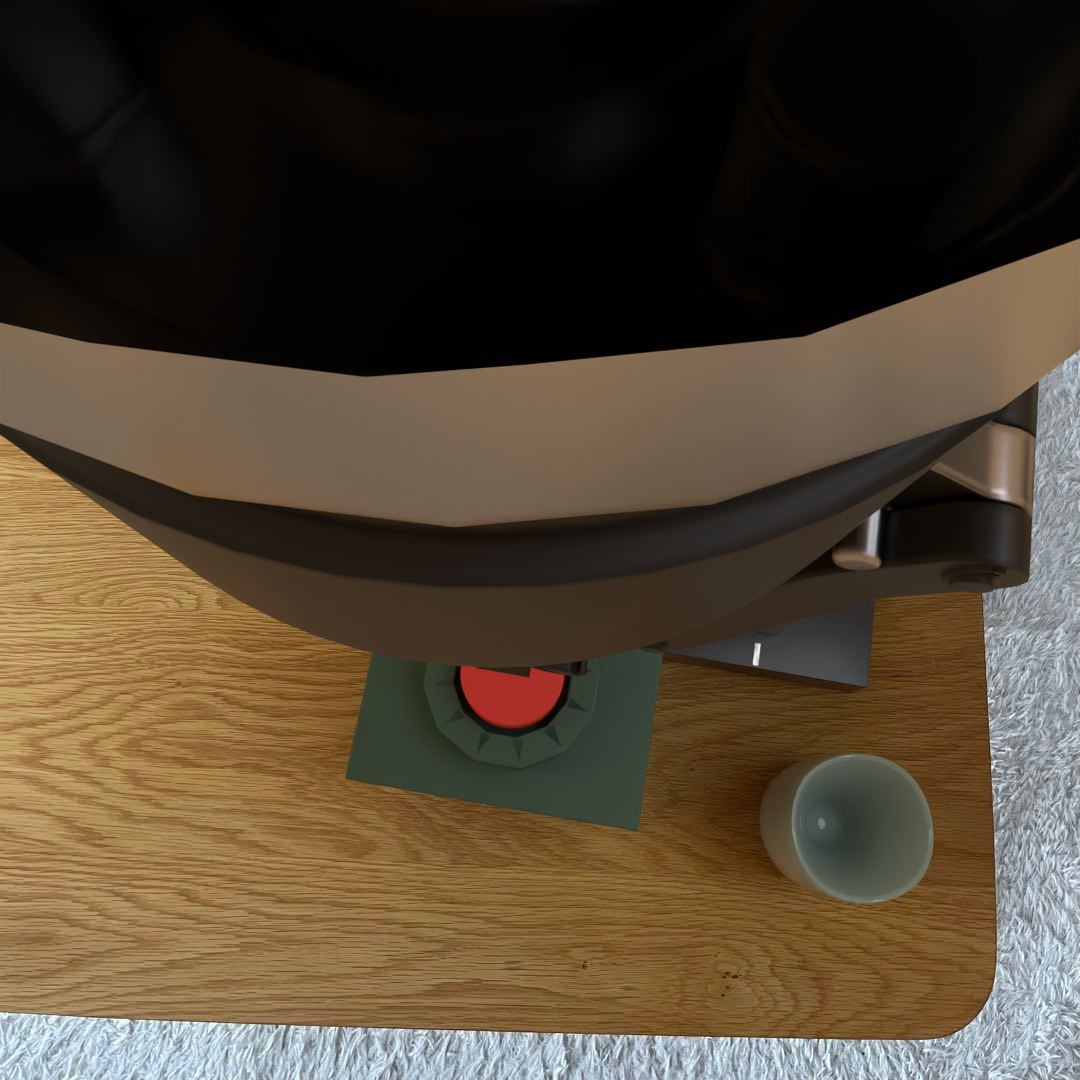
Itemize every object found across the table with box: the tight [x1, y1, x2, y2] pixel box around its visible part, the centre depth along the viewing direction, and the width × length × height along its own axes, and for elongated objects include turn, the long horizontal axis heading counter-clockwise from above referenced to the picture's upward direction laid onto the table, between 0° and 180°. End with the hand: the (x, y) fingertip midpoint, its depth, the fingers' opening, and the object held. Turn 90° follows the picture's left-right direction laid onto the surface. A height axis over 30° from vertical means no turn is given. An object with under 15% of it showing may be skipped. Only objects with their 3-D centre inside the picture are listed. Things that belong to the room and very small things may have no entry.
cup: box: [758, 751, 935, 905], centre depth 57 cm, size 8×8×10 cm
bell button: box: [460, 666, 564, 729], centre depth 39 cm, size 4×4×2 cm
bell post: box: [344, 648, 663, 832], centre depth 51 cm, size 12×10×24 cm
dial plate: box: [662, 600, 876, 694], centre depth 64 cm, size 14×11×3 cm
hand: (511, 624), depth 27 cm, fingers closed
